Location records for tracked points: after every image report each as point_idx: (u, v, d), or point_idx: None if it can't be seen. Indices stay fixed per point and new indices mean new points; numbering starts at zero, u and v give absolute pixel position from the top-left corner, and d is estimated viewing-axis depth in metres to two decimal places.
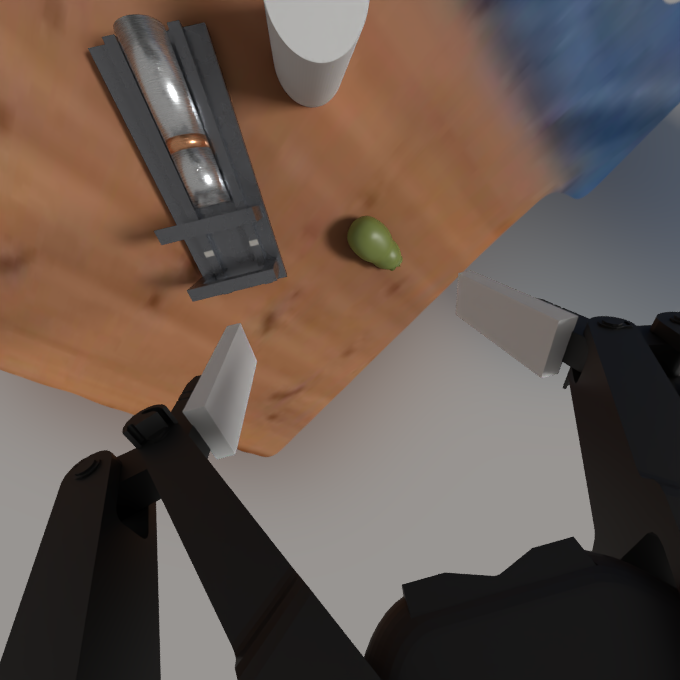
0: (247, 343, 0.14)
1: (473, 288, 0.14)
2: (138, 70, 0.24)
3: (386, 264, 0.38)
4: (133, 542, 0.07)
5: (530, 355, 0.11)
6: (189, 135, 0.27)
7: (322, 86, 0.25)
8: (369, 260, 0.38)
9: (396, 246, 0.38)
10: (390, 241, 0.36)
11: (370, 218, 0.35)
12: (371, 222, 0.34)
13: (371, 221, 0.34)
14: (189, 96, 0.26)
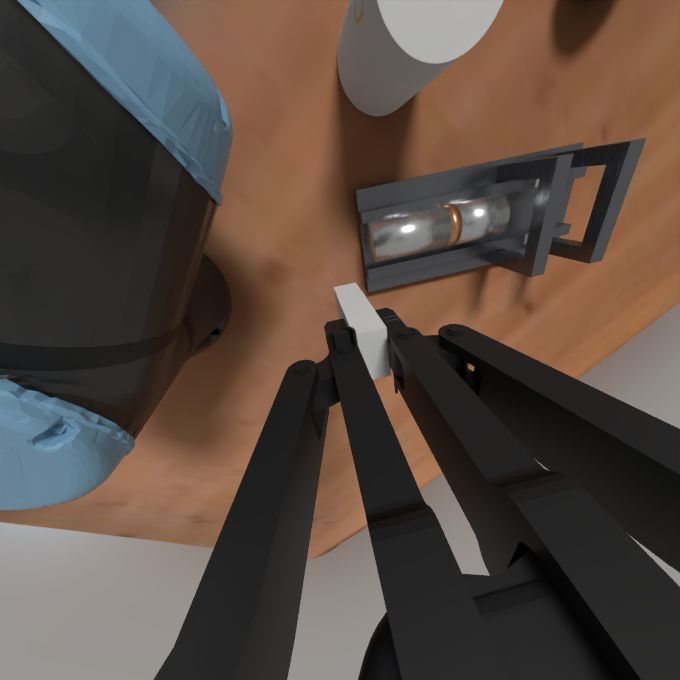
0: None
1: None
2: (404, 247, 0.27)
3: None
4: (314, 438, 0.08)
5: None
6: (451, 215, 0.27)
7: None
8: None
9: None
10: None
11: None
12: None
13: None
14: (414, 212, 0.28)
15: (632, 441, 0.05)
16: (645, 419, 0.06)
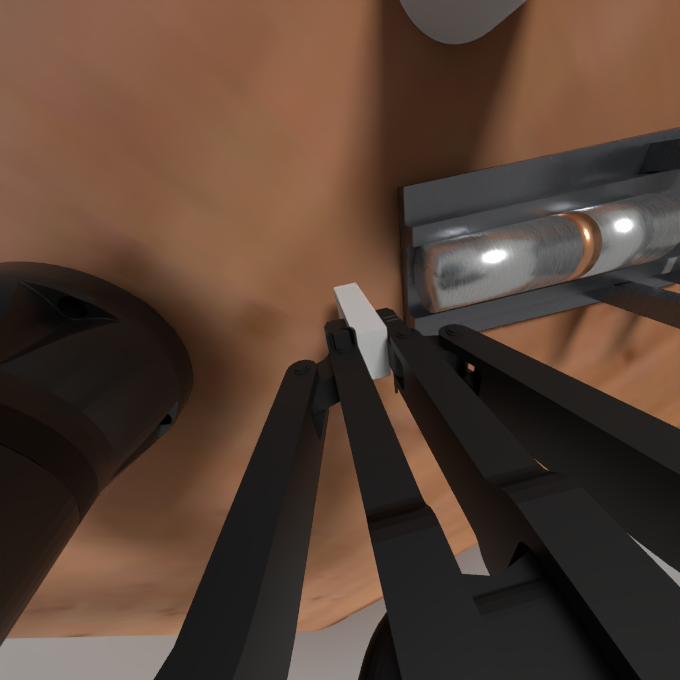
0: None
1: None
2: (493, 290, 0.15)
3: None
4: (314, 439, 0.08)
5: None
6: (582, 232, 0.14)
7: None
8: None
9: None
10: None
11: None
12: None
13: None
14: (507, 226, 0.15)
15: (632, 441, 0.05)
16: (645, 419, 0.06)
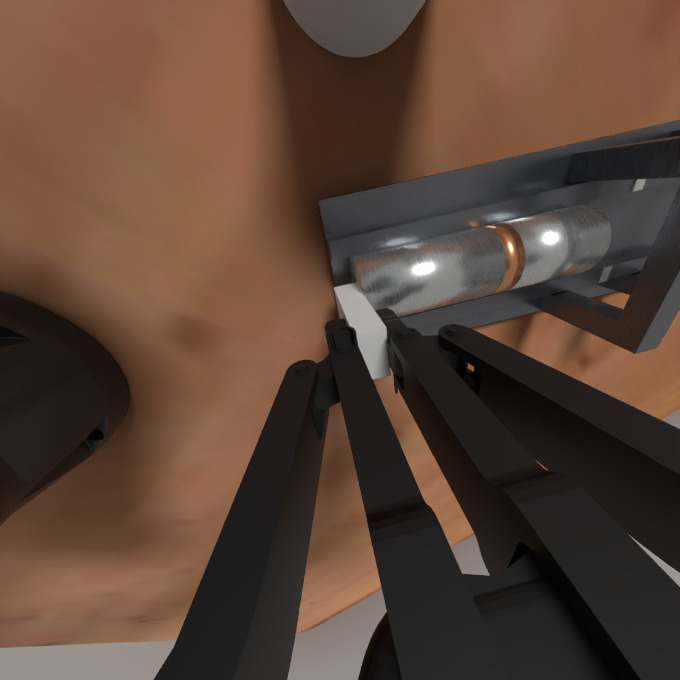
0: None
1: None
2: (418, 303, 0.15)
3: None
4: (314, 438, 0.08)
5: None
6: (505, 245, 0.14)
7: None
8: None
9: None
10: None
11: None
12: None
13: None
14: (434, 238, 0.15)
15: (632, 441, 0.05)
16: (645, 419, 0.06)
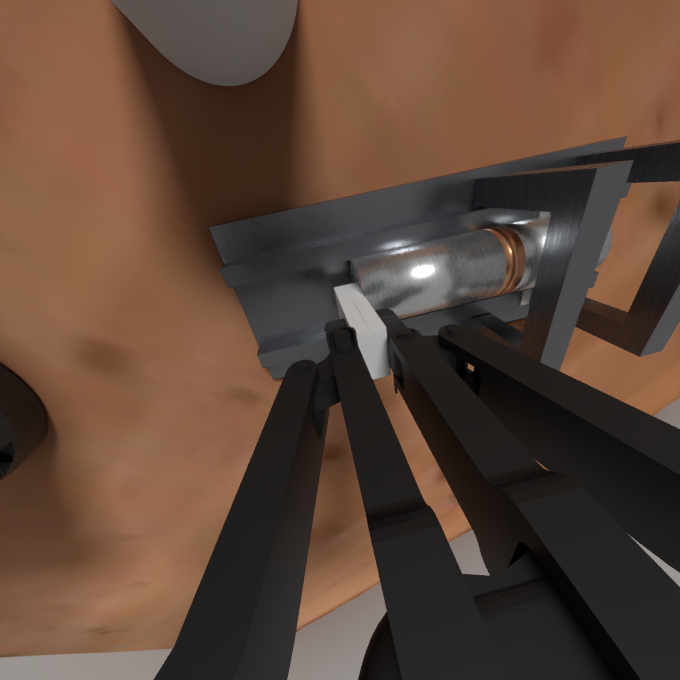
0: None
1: None
2: (418, 306, 0.15)
3: None
4: (314, 438, 0.08)
5: None
6: (505, 248, 0.14)
7: None
8: None
9: None
10: None
11: None
12: None
13: None
14: (435, 241, 0.15)
15: (631, 441, 0.05)
16: (644, 420, 0.06)
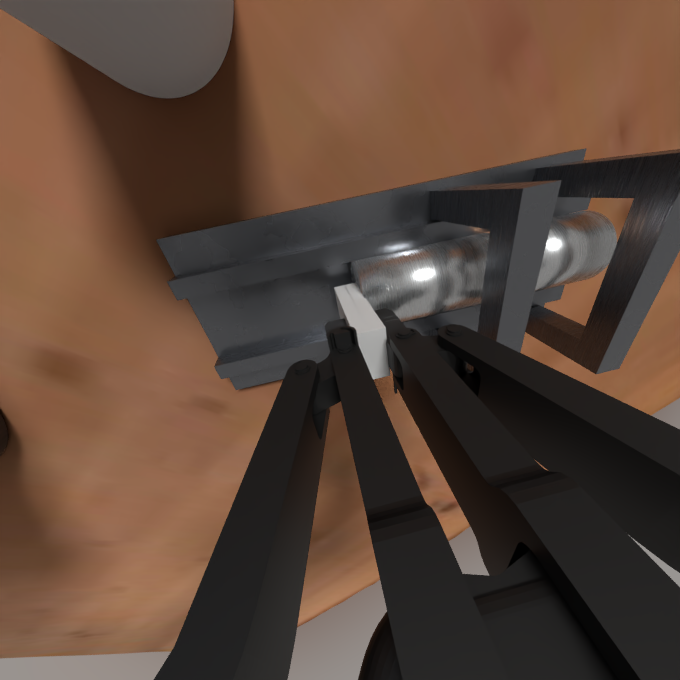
0: None
1: None
2: (419, 310, 0.15)
3: None
4: (314, 438, 0.08)
5: None
6: None
7: None
8: None
9: None
10: None
11: None
12: None
13: None
14: (437, 244, 0.15)
15: (631, 441, 0.05)
16: (644, 419, 0.06)
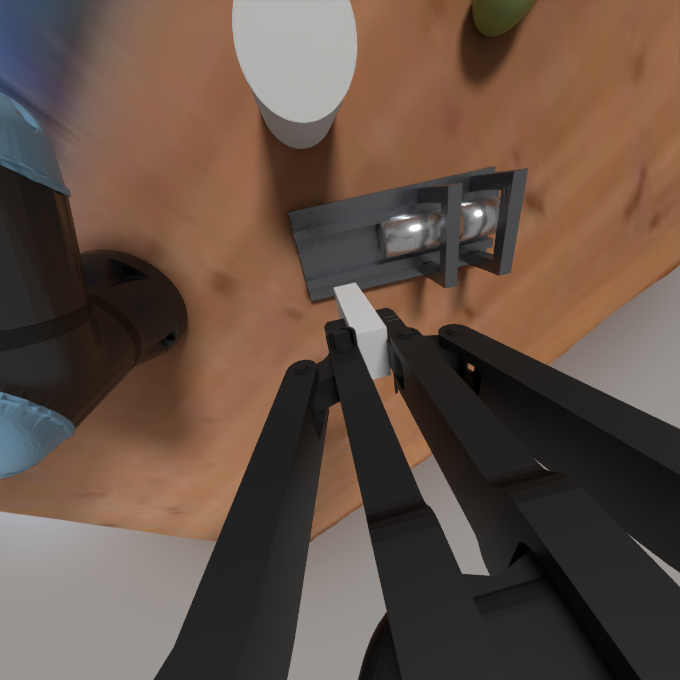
0: None
1: None
2: (413, 244, 0.31)
3: None
4: (314, 438, 0.08)
5: None
6: None
7: None
8: None
9: None
10: None
11: None
12: None
13: None
14: (421, 213, 0.31)
15: (632, 441, 0.05)
16: (645, 419, 0.06)
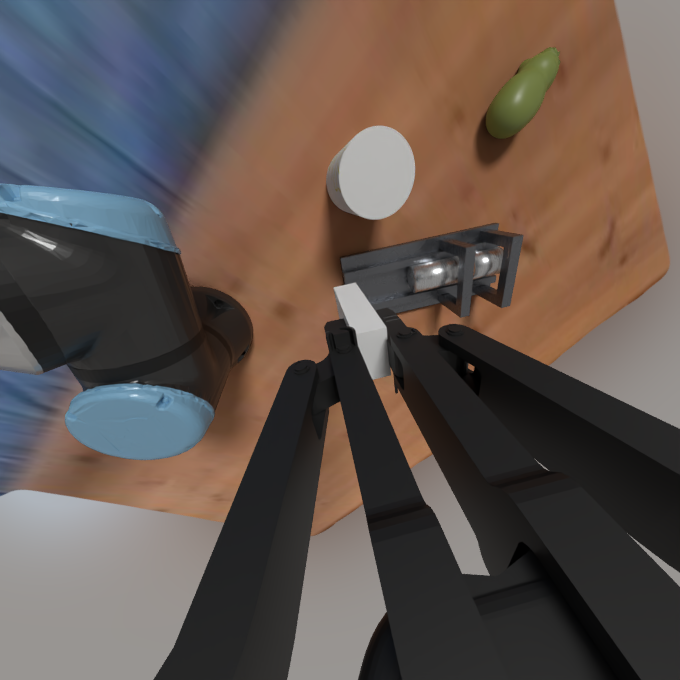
0: None
1: None
2: (436, 284, 0.41)
3: (552, 78, 0.31)
4: (314, 438, 0.08)
5: None
6: None
7: None
8: None
9: (536, 60, 0.30)
10: (532, 72, 0.30)
11: (499, 105, 0.32)
12: (506, 104, 0.31)
13: (505, 104, 0.31)
14: (442, 259, 0.41)
15: (632, 441, 0.05)
16: (645, 419, 0.06)
